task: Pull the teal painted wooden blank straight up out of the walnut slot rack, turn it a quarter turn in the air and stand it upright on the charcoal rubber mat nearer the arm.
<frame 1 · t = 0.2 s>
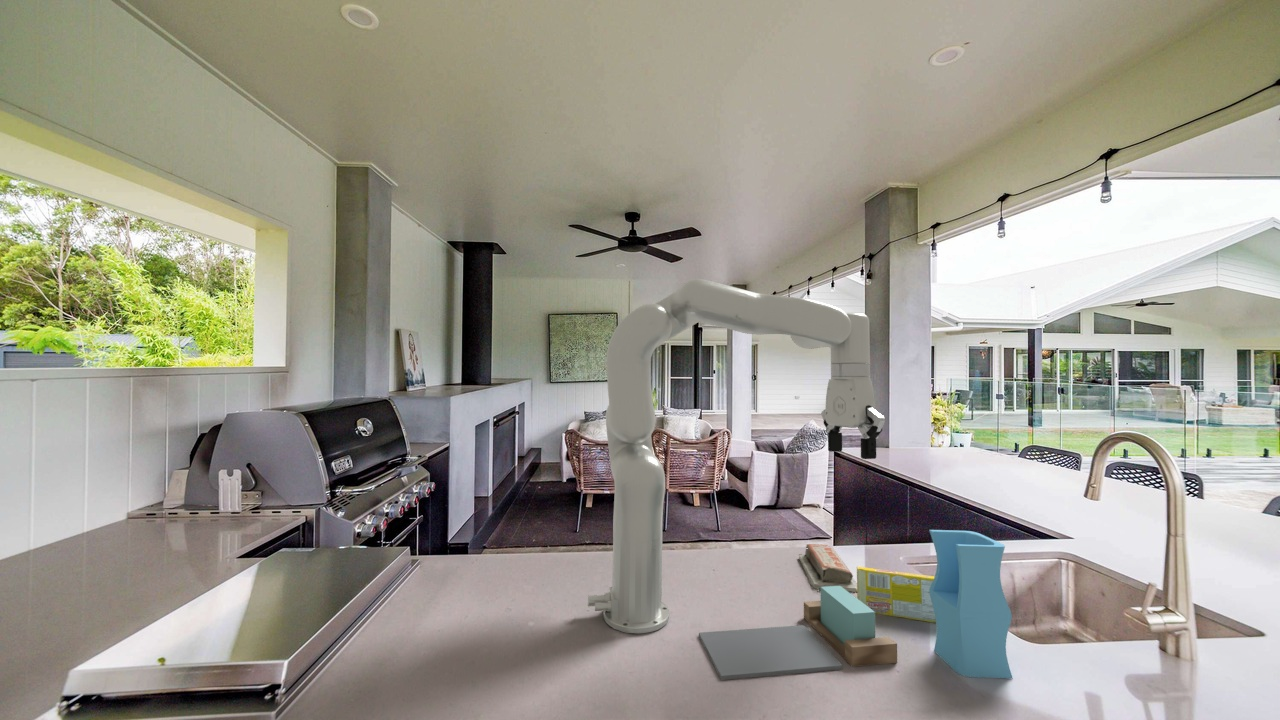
hand: (851, 454, 95), 30 cm above the countertop, tool pointing down, fingers open, 9 cm apart
mat: (766, 651, 76), on the countertop
slot rack: (846, 638, 81), on the countertop
blank: (846, 639, 81), resting in slot rack
vase: (969, 663, 74), on the countertop
candy box: (902, 617, 89), on the countertop
packaged product: (826, 576, 108), on the countertop
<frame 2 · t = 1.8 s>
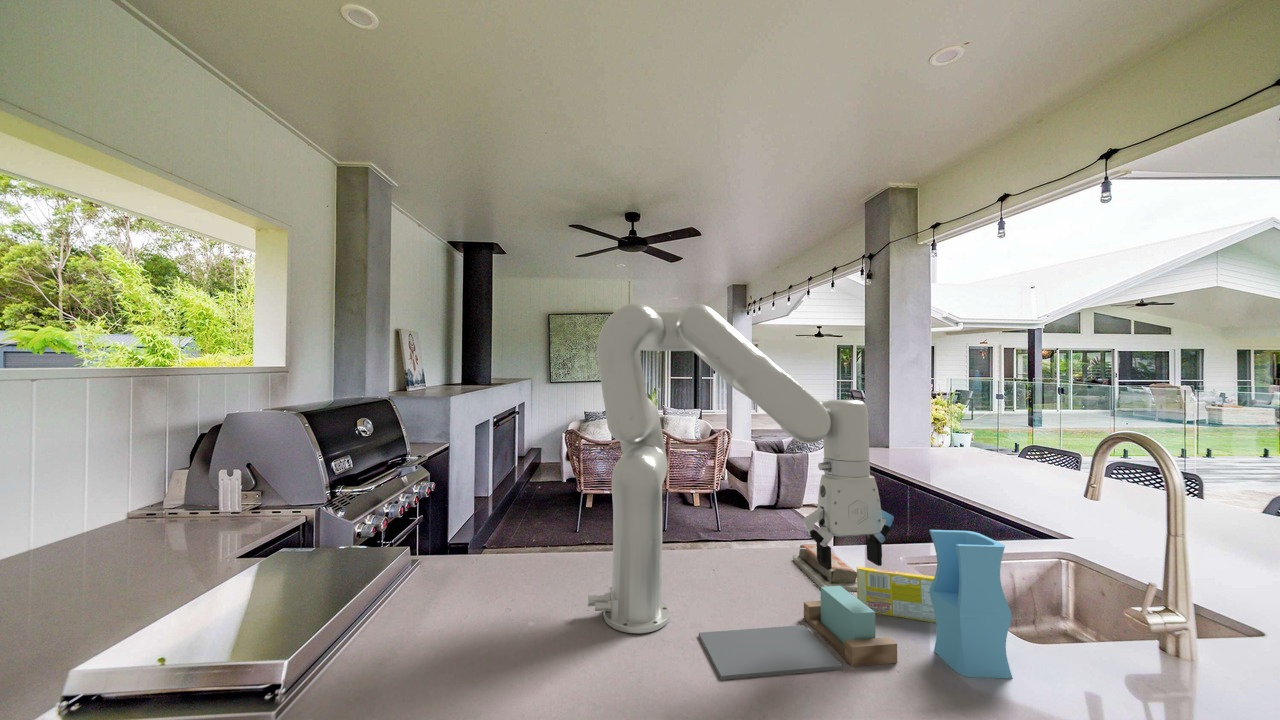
hand: (849, 564, 81), 13 cm above the countertop, tool pointing down, fingers open, 9 cm apart
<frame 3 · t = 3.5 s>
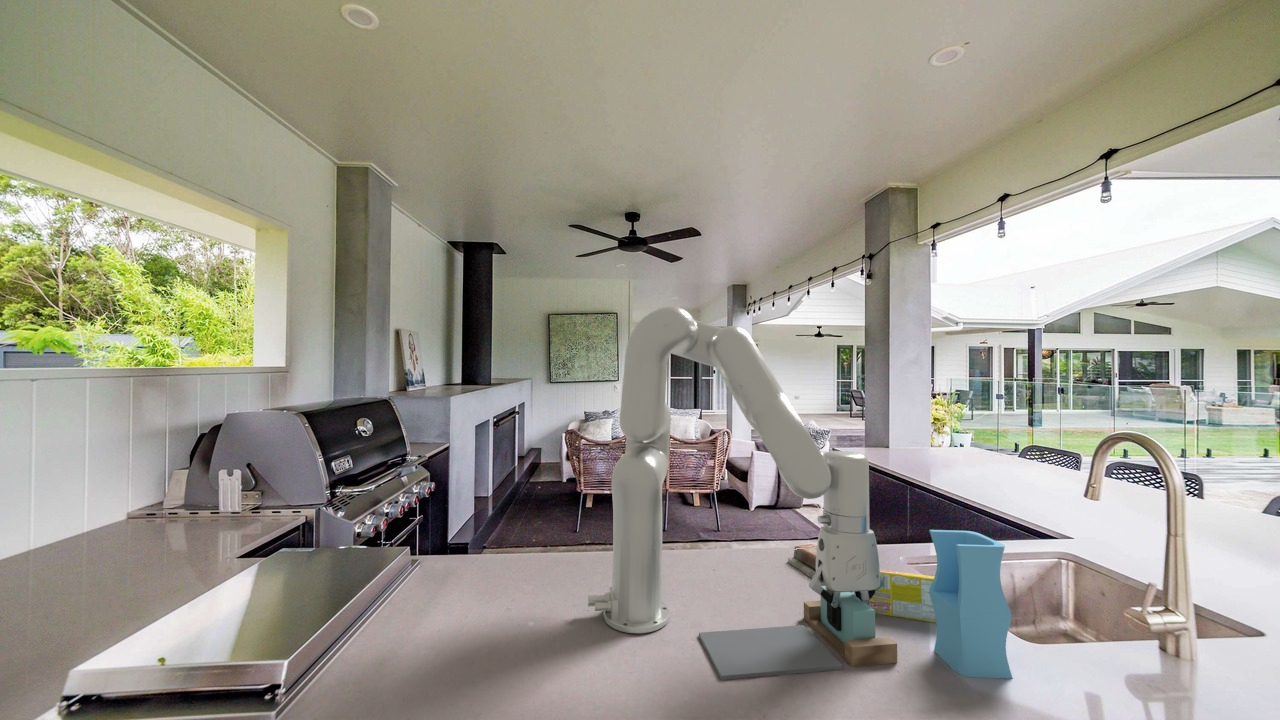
hand: (846, 624, 81), 2 cm above the countertop, tool pointing down, fingers closed on blank, 4 cm apart
blank: (846, 638, 81), resting in slot rack, touching gripper
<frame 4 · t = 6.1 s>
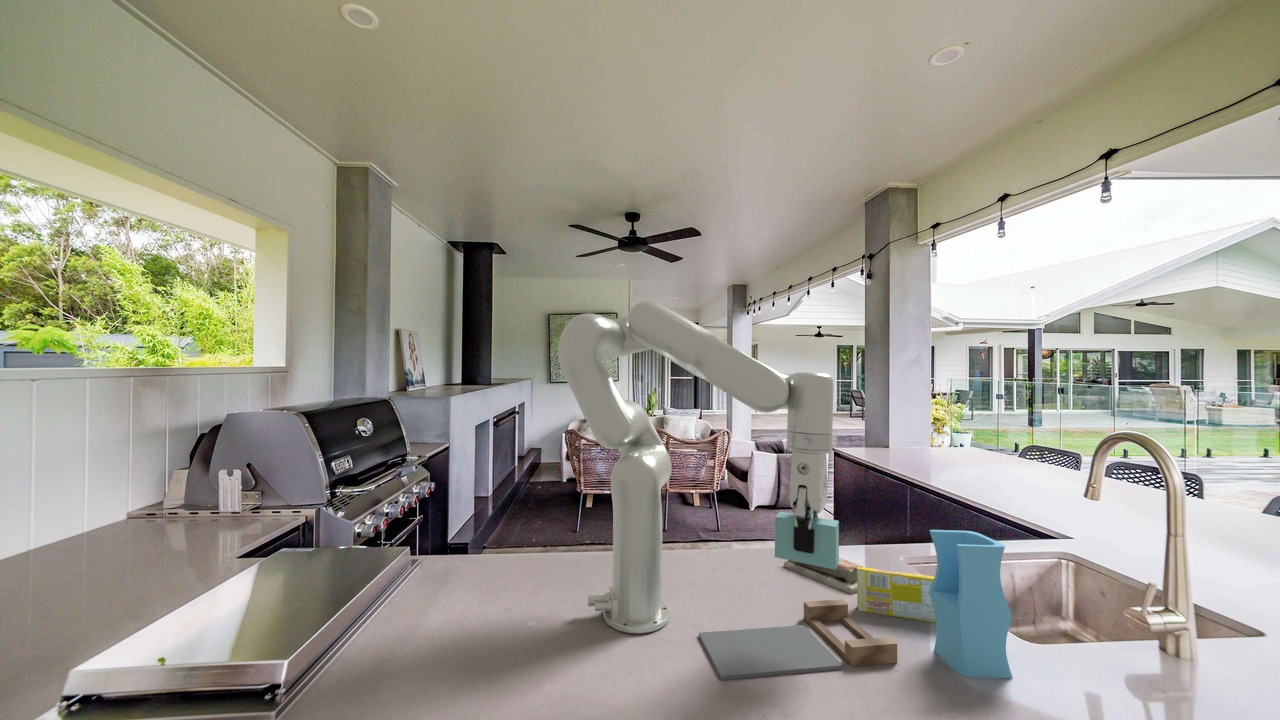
hand: (806, 546, 80), 17 cm above the countertop, tool pointing down, fingers closed on blank, 4 cm apart
blank: (806, 559, 80), point 14 cm above the countertop, touching gripper
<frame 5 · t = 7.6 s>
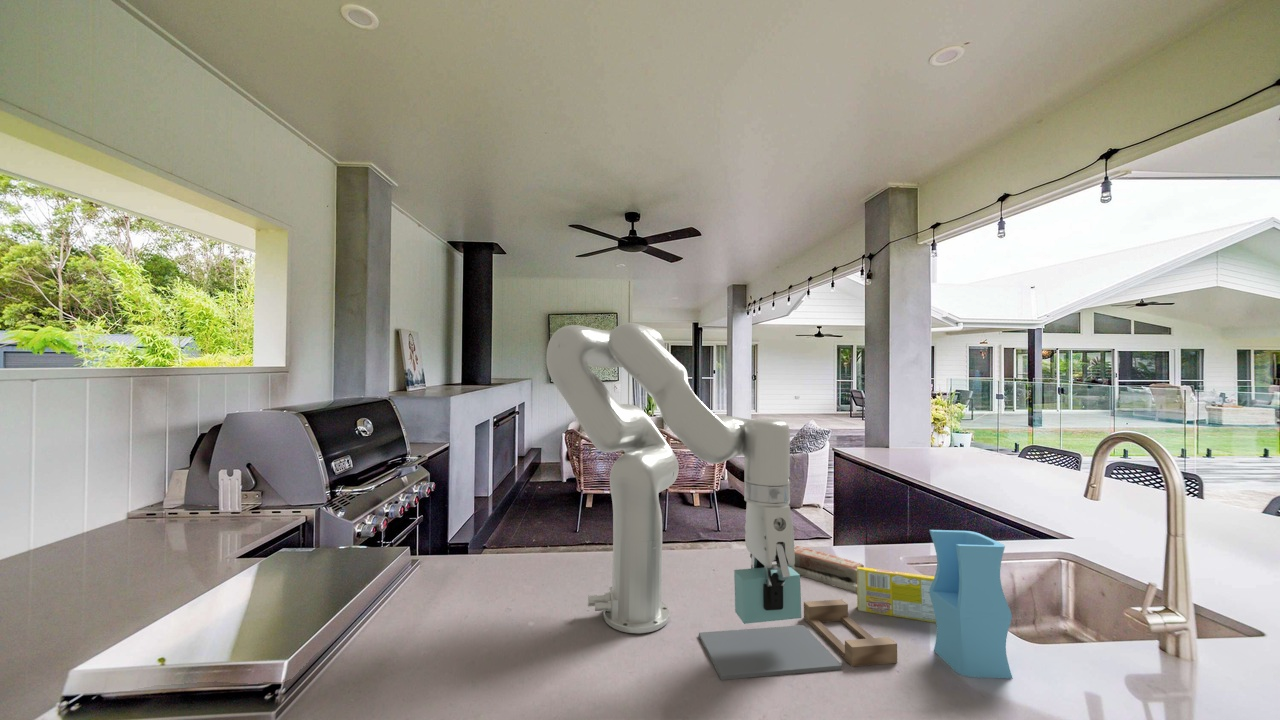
hand: (767, 601, 77), 8 cm above the countertop, tool pointing down, fingers closed on blank, 4 cm apart
blank: (767, 614, 77), point 6 cm above the countertop, touching gripper
when the fingers open (4 cm above the countertop, at t = 8.8 s): blank stays where it is, resting on mat.
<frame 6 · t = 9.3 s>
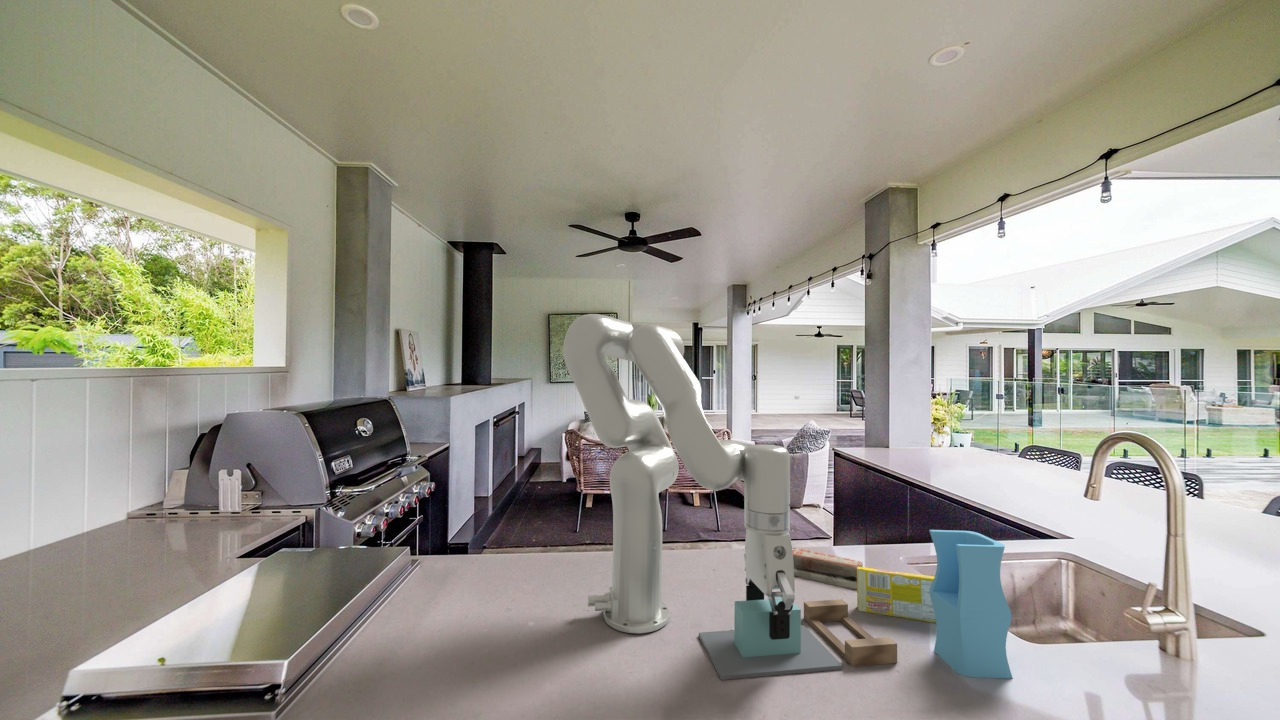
hand: (766, 622, 77), 5 cm above the countertop, tool pointing down, fingers open, 9 cm apart
blank: (767, 648, 76), point 1 cm above the countertop, touching mat
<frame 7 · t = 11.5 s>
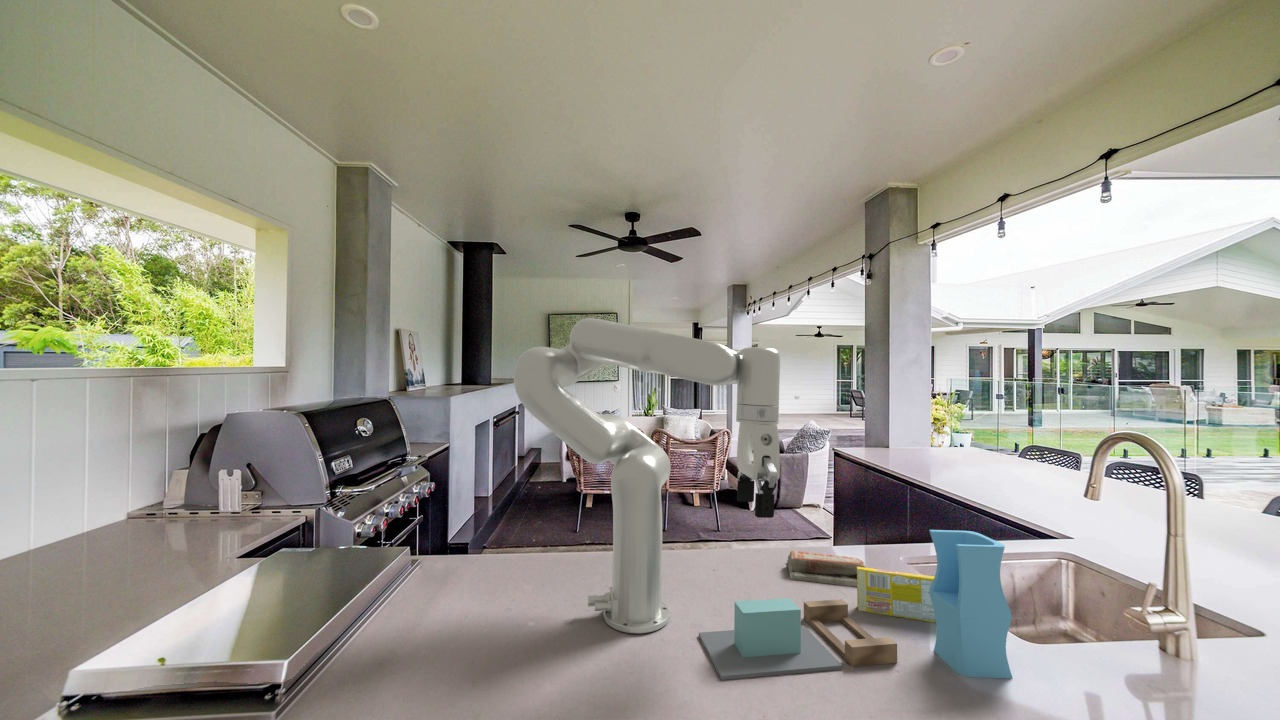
hand: (754, 508, 83), 22 cm above the countertop, tool pointing down, fingers open, 9 cm apart
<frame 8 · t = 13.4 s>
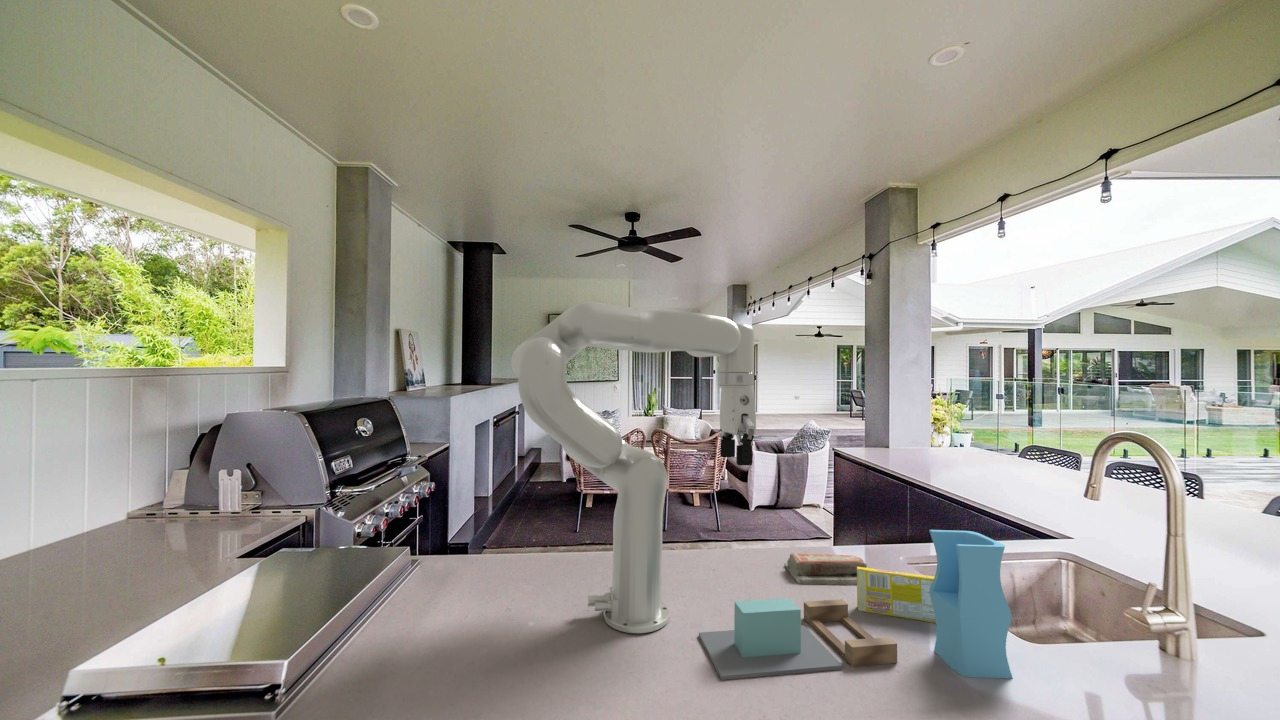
hand: (735, 460, 98), 28 cm above the countertop, tool pointing down, fingers open, 9 cm apart
at the end: blank 0.1 cm off-centre on the mat, point 0.6 cm above the mat's base; blank tilted 0°; the gripper is holding nothing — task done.
